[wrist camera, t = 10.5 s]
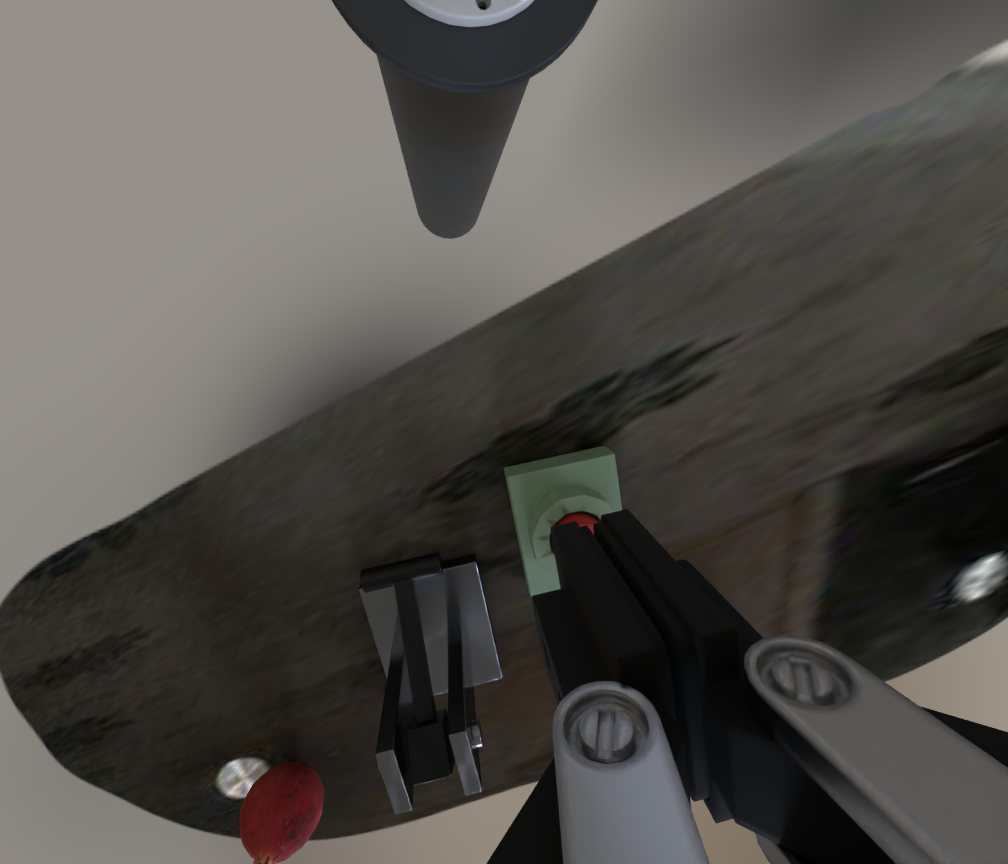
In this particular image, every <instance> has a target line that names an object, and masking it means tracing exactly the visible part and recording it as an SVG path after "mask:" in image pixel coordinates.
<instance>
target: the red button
mask: <svg viewBox="0 0 1008 864" xmlns="http://www.w3.org/2000/svg"><path fill="white" fill-rule="evenodd" d="M573 521H576V522H577V523H578V525H579V526H580V527H582V526H586V525H587V526H588V527H589V528H590V530H591V531H592V533H593V534H594V529H593V525H594V524H595V523H598V522H597V521H596V520H595V519H594V518H593V517H591V516H589V515H587V514H580V513H579V514H572V515H569V516H567V517H565V518H564V519H562V520H561V521H560V522H559V523H558V524H557V525H560V524H565V523H569V522H573Z"/></svg>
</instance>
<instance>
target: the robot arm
mask: <svg viewBox="0 0 1008 864" xmlns="http://www.w3.org/2000/svg"><path fill="white" fill-rule="evenodd" d="M404 1H406V2H407V3H408V4H409V5H410V6H412V7H413V8H415V9H416V10H418V11H420V12H421V13H423V14H425V15H426V16H428V17H430V18H433V19H435V20H438V21H441V22H444V23H446V24H449V25H456V26H464V27H479V26H490V25H493V24H496V23H499V22H502V21H505V20H508V19H510V18H511V17H513V16H515V15H516V14H518V13H519V12H521V11H523V10H524V9H526V8H527V7H528V6H529V5H530V4H531V3H532V2H533V1H534V0H404ZM480 6H483V7H485V9H486V10H481V9H480V8H479V7H480ZM593 529H594V534H593V533H592V531H591V530H590V528H589V527H588V526H587V525H586V526H582V527H580V526H579V525H578V523H577V522H576V521H573V522H569V523H565V524H560V525H556V526H552V527H551V537H552V543H553V548H554V554H555V560H556V565H557V571H558V577H559V582H560V588H561V589H558V590H554V591H550V592H545V593H541V594H537V595H533V596H532V603H533V608H534V613H535V618H536V623H537V628H538V633H539V638H540V642H541V647H542V651H543V655H544V659H545V663H546V667H547V670H548V674H549V677H550V681H551V684H552V688H553V691H554V695H555V698H556V702H557V705H558V707H557V709H556V711H555V713H554V716H553V726H552V735H553V747H554V758H553V760H552V762H551V763H550V765H549V766H548V768H547V769H546V771H545V773H544V774H543V776H542V777H541V779H540V780H539V782H538V784H537V785H536V787H535V788H534V790H533V792H532V793H531V795H530V796H529V798H528V800H527V801H526V802H525V804H524V806H523V807H522V809H521V810H520V812H519V813H518V815H517V817H516V818H515V820H514V821H513V823H512V824H511V826H510V828H509V829H508V831H507V832H506V834H505V836H504V837H503V839H502V840H501V842H500V843H499V845H498V846H497V848H496V850H495V851H494V853H493V854H492V856H491V857H490V859H489V861H488V862H487V864H710V863H709V860H708V857H707V854H706V852H705V849H704V846H703V843H702V840H701V837H700V834H699V831H698V828H697V825H696V822H695V820H694V816H693V814H692V811H691V804H690V797H691V799H692V800H693V801H699V800H702V799H703V800H704V802H705V804H706V806H707V807H708V809H709V811H710V813H711V815H712V817H713V819H714V821H715V822H716V823H719V822H723V821H726V820H729V819H734V820H735V822H736V823H737V824H739V825H741V826H743V827H745V828H747V829H749V830H751V831H753V832H755V834H756V838H757V842H758V844H759V846H760V848H761V849H762V851H763V853H764V854H765V856H766V858H767V859H768V861H769V862H770V863H771V864H1008V732H1005V731H1002V730H998V729H995V728H992V727H988V726H985V725H981V724H978V723H975V722H971V721H968V720H964V719H961V718H957V717H954V716H951V715H947V714H944V713H941V712H937V711H934V710H930V709H927V708H923V707H920V706H918V705H917V704H915V703H914V702H912V701H911V700H909V699H908V698H907V697H905V696H904V695H902V694H901V693H899V692H898V691H896V690H895V689H894V688H892V687H891V686H889V685H888V684H887V683H885V682H884V681H882V680H881V679H879V678H878V677H876V676H875V675H874V674H872V673H871V672H869V671H868V670H866V669H865V668H864V667H862V666H861V665H859V664H858V663H856V662H855V661H853V660H852V659H851V658H849V657H848V656H846V655H845V654H843V653H842V652H840V651H838V650H836V649H834V648H833V647H831V646H829V645H827V644H825V643H822V642H819V641H816V640H813V639H810V638H805V637H799V636H794V635H775V636H771V637H767V638H763V637H762V636H761V635H760V634H759V633H758V632H757V631H756V630H755V629H754V628H753V627H752V626H751V625H750V624H749V623H748V622H747V621H746V620H745V619H744V618H743V617H742V616H741V615H740V614H739V613H738V612H737V611H736V610H735V609H734V608H733V607H732V606H731V605H730V604H729V602H728V601H727V600H726V599H725V598H724V597H723V596H722V595H721V594H720V593H719V592H718V591H717V590H716V589H715V588H714V587H713V586H712V585H711V584H710V583H709V582H708V581H707V580H706V579H705V578H704V577H703V576H702V575H701V574H700V573H699V572H698V571H697V570H696V569H695V568H694V567H693V566H692V565H691V564H690V563H689V562H688V561H686V560H678V561H675V560H674V559H673V558H672V557H671V556H670V555H669V554H668V553H667V551H666V550H665V549H664V548H663V547H662V546H661V545H660V544H659V543H658V542H657V541H656V540H655V538H654V537H653V536H652V535H651V534H650V533H649V532H648V531H647V530H646V529H645V528H644V527H643V525H642V524H641V523H640V522H639V521H638V520H637V519H636V518H635V517H634V516H633V515H632V514H631V512H630V511H628V510H627V509H625V510H621V511H617V512H612V513H608V514H604V515H601V522H599V523H595V524H594V525H593Z"/></svg>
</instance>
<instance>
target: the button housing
mask: <svg viewBox="0 0 1008 864" xmlns="http://www.w3.org/2000/svg"><path fill="white" fill-rule="evenodd" d="M504 473H505V478H506V483H507V488H508V493H509V498H510V503H511V508H512V513H513V518H514V523H515V528H516V533H517V538H518V543H519V548H520V554H521V559H522V564H523V569H524V574H525V579H526V583H527V586H528V589H529V593H530V596H531V597H532V596H533V595H537V594H541V593H545V592H550V591H554V590H558V589H561V588H560V582H559V577H558V571H557V565H556V560H555V554H554V548H553V543H552V537H551V527H552V526H556V525H557V524H558V523H559V522H560V521H561V520H562V519H564V518H565V517H567V516H569V515H572V514H579V513H580V514H587V515H589V516H591V517H593V518H594V519H595V520H596V521H597V522H598V523H599V522H601V515H604V514H608V513H612V512H617V511H621V510H622V506H621V499H620V491H619V483H618V476H617V468H616V460H615V454H614V453H613V452H612V451H611V450H609V449H608V448H607V447H606V446H601V447H596V448H592V449H587V450H583V451H578V452H573V453H569V454H564V455H560V456H555V457H551V458H546V459H542V460H537V461H532V462H528V463H523V464H519V465H514V466H510V467H505V468H504Z"/></svg>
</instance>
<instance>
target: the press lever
mask: <svg viewBox="0 0 1008 864" xmlns="http://www.w3.org/2000/svg"><path fill="white" fill-rule="evenodd" d="M440 575H443V566H442V561H441V557H440V554H439V553H438V552H437V553H433V554H428V555H424V556H420V557H415V558H411V559H407V560H402V561H398V562H394V563H389V564H385V565H381V566H376V567H372V568H368V569H363V570H362V571H361V574H360V581H361V586H362V589H363V591H364V592H365V593H367V592H371V591H376V590H380V589H384V588H389V587H393V586H394V588H395V594H396V600H397V607H398V613H399V619H400V625H401V632H402V638H403V644H404V650H405V657H406V663H407V669H408V675H409V682H410V688H411V694H412V701H413V707H414V713H415V717H413V718H412V719H411V721H410V723H409V725H408V727H407V729H406V731H405V735H406V741H407V748H408V755H409V761H410V768H411V774H412V781H413V785H414V786H415V785H419V784H423V783H427V782H430V781H434V780H438V779H442V778H445V777H449V776H451V775H452V771H453V766H454V761H455V758H454V754H453V750H452V747H451V743H450V739H449V729H448V713H447V710H446V709H444V710H440V711H436V708H435V702H434V696H433V690H432V684H431V678H430V672H429V666H428V661H427V655H426V649H425V643H424V637H423V631H422V625H421V619H420V614H419V608H418V602H417V596H416V590H415V584H414V581H418V580H423V579H427V578H431V577H436V576H440Z"/></svg>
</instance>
